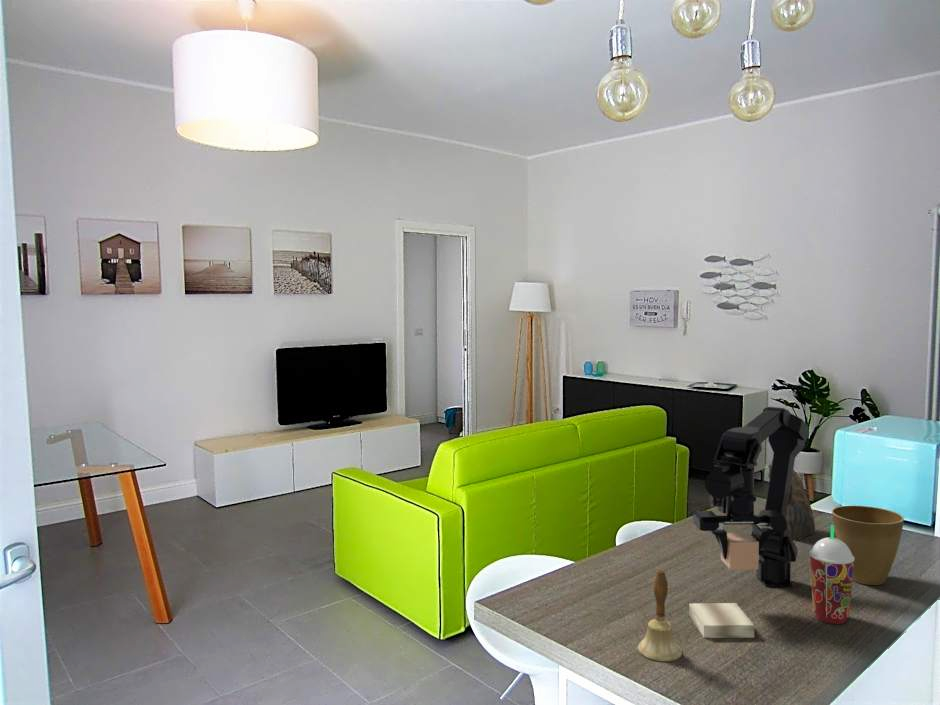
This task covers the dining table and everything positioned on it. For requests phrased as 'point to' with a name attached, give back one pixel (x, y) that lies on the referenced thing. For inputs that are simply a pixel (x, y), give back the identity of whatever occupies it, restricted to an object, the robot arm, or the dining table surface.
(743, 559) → the cube
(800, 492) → the owl
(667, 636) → the hand bell
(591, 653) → the dining table surface
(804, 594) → the dining table surface
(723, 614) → the base
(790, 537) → the robot arm
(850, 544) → the plant pot
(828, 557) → the smoothie
